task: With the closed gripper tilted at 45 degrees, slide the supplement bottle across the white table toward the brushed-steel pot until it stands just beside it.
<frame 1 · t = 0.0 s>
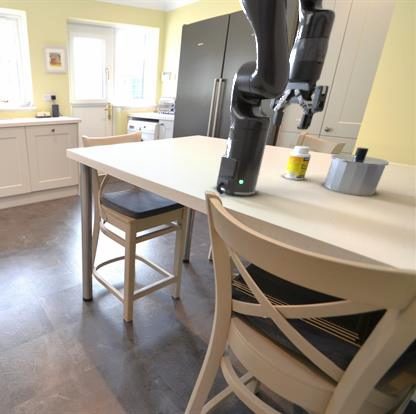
hand: (289, 127, 77), 17 cm above the table, tool pointing down, fingers open, 8 cm apart
pot: (348, 189, 83), on the table
supplement bottle: (293, 178, 93), on the table
pot lid: (358, 160, 80), point 8 cm above the table, touching pot
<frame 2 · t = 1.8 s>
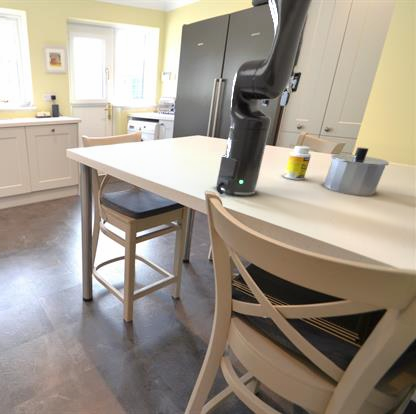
hand: (274, 105, 96), 22 cm above the table, tool pointing down, fingers open, 7 cm apart
nothing on the table moved.
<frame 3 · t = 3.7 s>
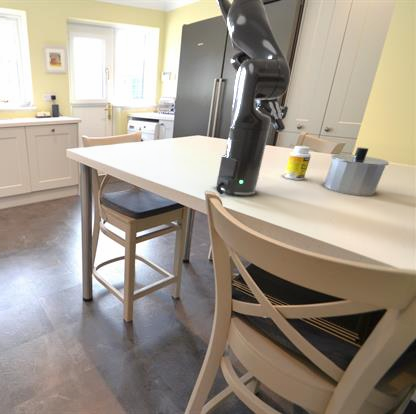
hand: (280, 130, 97), 14 cm above the table, tool tilted 45°, fingers closed
nothing on the table moved.
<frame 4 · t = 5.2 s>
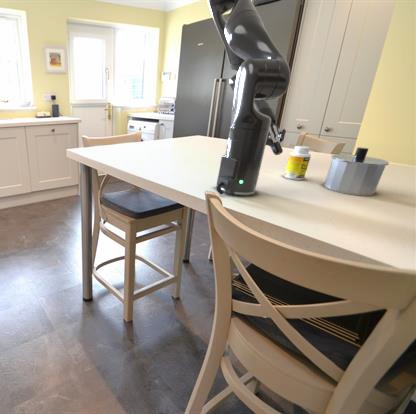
hand: (278, 153, 98), 6 cm above the table, tool tilted 45°, fingers closed
nothing on the table moved.
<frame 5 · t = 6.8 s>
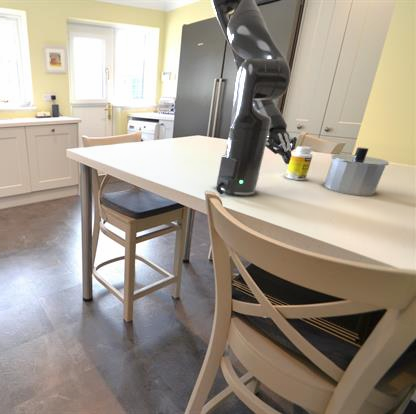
hand: (290, 163, 94), 4 cm above the table, tool tilted 45°, fingers closed
supplement bottle: (295, 178, 93), on the table, touching gripper
everything else where it was.
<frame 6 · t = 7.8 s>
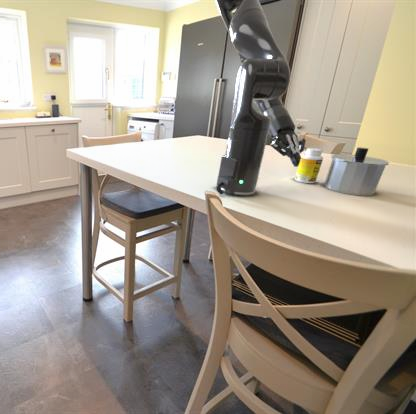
hand: (299, 165, 91), 4 cm above the table, tool tilted 45°, fingers closed
supplement bottle: (304, 181, 90), on the table, touching gripper
everything else where it was.
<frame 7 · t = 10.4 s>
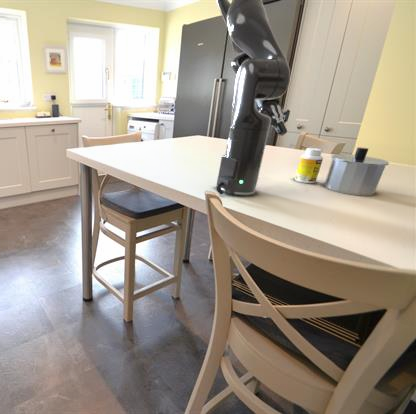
hand: (283, 133, 95), 13 cm above the table, tool tilted 45°, fingers closed
supplement bottle: (304, 181, 90), on the table
everything else where it was.
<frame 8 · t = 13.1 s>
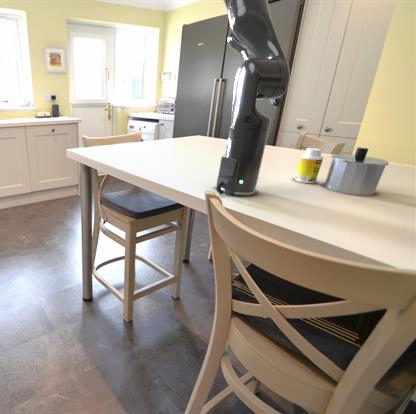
hand: (278, 106, 94), 22 cm above the table, tool tilted 45°, fingers closed
nothing on the table moved.
at the end: supplement bottle 10.8 cm from the pot (horizontally); supplement bottle moved 3.9 cm from its start; supplement bottle tilted 0° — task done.
